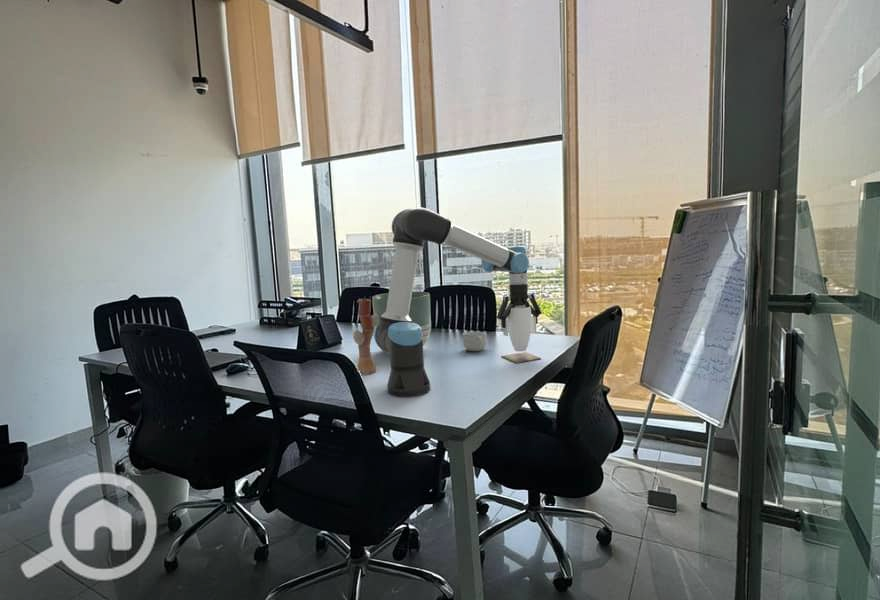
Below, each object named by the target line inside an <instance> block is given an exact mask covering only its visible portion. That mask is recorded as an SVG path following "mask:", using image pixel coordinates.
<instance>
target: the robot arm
mask: <svg viewBox="0 0 880 600" xmlns="http://www.w3.org/2000/svg"><path fill="white" fill-rule="evenodd" d="M391 231H392V232H391V233H392V234H393V238H392V244H393V246H394V248H395V251H394V258H393V265H392V271H391V277H390V283H389V289H388V293H389V295H388V301H387V307H386V312H385V313H384V314H382V315H381V319H380V324H379V325H378V326H377V327H376V329H375V328H374V333H373V336H374V341H375V344H376V345H377V346H378V348H380V350H382V351H383V352H385V353H387V354H388V355H389V361H390V363H389V364H390V372H389V376H388V380H387V384H386V389H387V391H386V392H387V394H388V395H390V396H393V397H399V398H410V397H417V396H421V395H424V394H426V393H428V392H430V390H431V382H430V379H429V376H428V374H427V372H426V369H425V360H424V346H423V334H422V329H421V327H420V326H419V325H418V324H416V323H411V322H412V320H411V318H410V317H409V309H410V302H411V296H412V292H413V289H414V283H415V278H416V277H415V276H416V272H417V271H416V270H417V265H418V259H419V253H420V251H422V250H423V249H424V247H425V242H431V243H434V244H437V245H441V246H442V245H443V244H444V245H446V246H449V247H450V248H453V249H456V250H459V252H460V251H461V252H463V253H466V254H468V255H470V256H473V257H475V258H477V259H480V260H481V266H482V267H481V268H482V269H483V270H484V271H485V272H486V273H489V272H491V273H493V272H504V273H508V283H510V284H509V285H508V286H509V288H508V289H509V296H506V295H504V296H503V297H502V302H501V305H500V308H499V310H498V313H497V315H496V319H497V320H500V322H501V323H500V324H501V325H500V326H501V328H502V331H503V334H502V335H503V336H505V337H508V336H509V331H508V320H507V317H508V316H509V314H510V313H511V308H514V307H515V306H520V305H524V306H525V307H529V306H530V307H531V318H532V320H531V332H533V333H537V324H538V320H539V319H538V317H539V316H540V315H542V314H543V313H542V310H541V308H540V306H539V305H538V302H537V300H536V298H535V297H536V296H535V294H534V293H532V292H529V293H528V291H529V289H528V288H529V287H528V283H527V282H528V269H529V265H530V259H529V257H528V253H527V247H526V246H525V245H513V246H511V245H510V246H508V248H507V247H504V246H502V245H500V244H498V243H495V242H493V241H491V240H489V239H486V238H485V237H482V236H480V235H478V234H476V233H473V232H472V231H469V230H466V229H465V228H462V227H461V226H458V225H456V224H454V223H452V219H449V218H447V217H445V216H443V215H441V214H439V213H437V212H435V211H432V210H431V209H428V208H425V207H415V208H408V209H403V210H401V211H400V212H398V213H397V214H396V215H395V216H394V217H393V219H392V222H391ZM528 299H529V301H530V302H529V301H528ZM530 303H531V304H530Z"/></svg>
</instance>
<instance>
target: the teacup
mask: <svg viewBox="0 0 880 600" xmlns="http://www.w3.org/2000/svg"><path fill="white" fill-rule="evenodd" d="M462 341H463V342H462V343H463V347H464V348H465V349H466V350H467V351H469V352H480V351H483V349H485V347H486V344H487V333H486V332H483V331H465V332H464V333H462Z"/></svg>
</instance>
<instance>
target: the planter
mask: <svg viewBox="0 0 880 600" xmlns="http://www.w3.org/2000/svg"><path fill="white" fill-rule="evenodd" d="M388 295H389V292H388V293H380V294H376V295H373V296H371V298H372V300H371V302H372V309H373V311H372V312H373V314H375V313H376V314H377V315H378V323H377V325H376V326H375V327H374V330H375V329H376V327H377V326H378V325H379V324H380V319H381V315H382V314H384V313H385V312H386V307H387V301H388ZM431 314H432V313H431V294H430V292H428V291H427V292H425V291H412V296H411V302H410V309H409V317H410V318H411V320H412V322H411V323H416V324H418V325H419V326H420V327H421V329H422V334H423V347H424V346H425V345H426V344H427V343H428V341H429V339H430V336H431V331H432V320H431V319H432V318H431V317H432V316H431Z"/></svg>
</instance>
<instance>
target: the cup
mask: <svg viewBox="0 0 880 600" xmlns="http://www.w3.org/2000/svg"><path fill="white" fill-rule="evenodd" d="M531 307H532V306H531ZM531 307H530V306H529V307H525V306H524V305H520V306H515V307H514V308H511V313H510V314H509V316H508V317H507V319H506V320H508V336H509V339H510V342H511V345H512V347H513V349H514V351H515V352H527V351H526V350H527V348H528V346H529V342H530V341H531V335H532V334H531V333H532V331H531V320H532V318H531V316H532V314H531Z"/></svg>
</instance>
